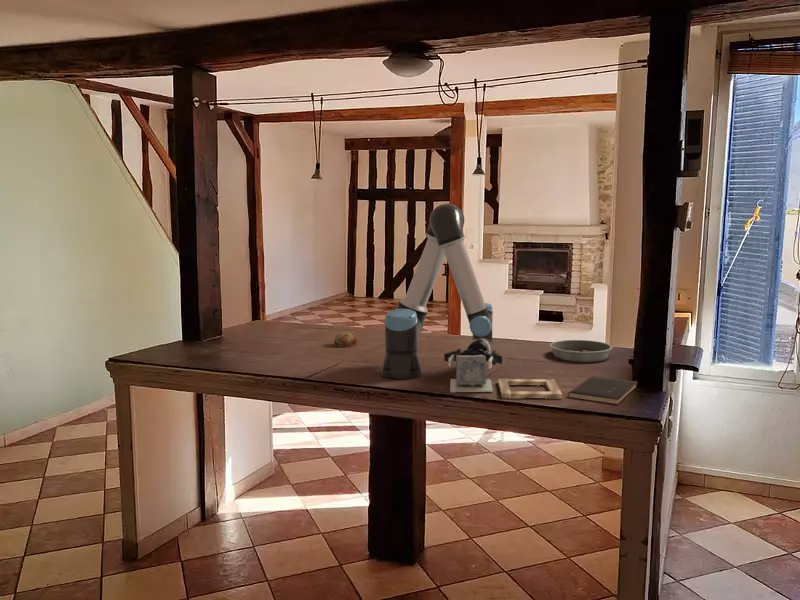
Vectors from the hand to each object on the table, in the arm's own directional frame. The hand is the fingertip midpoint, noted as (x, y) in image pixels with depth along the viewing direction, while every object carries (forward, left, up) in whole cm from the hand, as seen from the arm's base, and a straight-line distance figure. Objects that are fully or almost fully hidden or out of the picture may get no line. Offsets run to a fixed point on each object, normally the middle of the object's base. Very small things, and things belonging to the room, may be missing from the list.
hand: (469, 363), depth 220 cm
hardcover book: (+44, -1, -10) cm, 45 cm away
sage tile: (+1, +3, -9) cm, 9 cm away
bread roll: (-54, +70, -9) cm, 89 cm away
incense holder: (0, +3, -8) cm, 9 cm away
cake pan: (+46, +51, -9) cm, 69 cm away
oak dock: (+20, -1, -9) cm, 21 cm away
